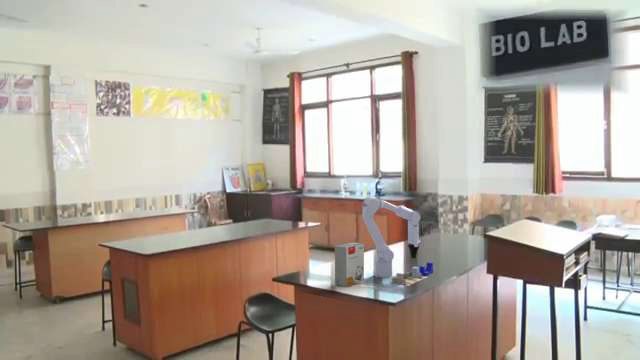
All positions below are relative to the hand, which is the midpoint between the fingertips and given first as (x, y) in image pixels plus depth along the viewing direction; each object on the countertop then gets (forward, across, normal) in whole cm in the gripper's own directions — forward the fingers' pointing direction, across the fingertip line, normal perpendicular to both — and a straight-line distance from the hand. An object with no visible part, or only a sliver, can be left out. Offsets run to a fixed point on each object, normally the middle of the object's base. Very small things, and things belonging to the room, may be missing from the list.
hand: (413, 257), depth 271 cm
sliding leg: (+8, -9, 0) cm, 12 cm away
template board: (+9, -14, +5) cm, 18 cm away
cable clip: (+10, -1, -7) cm, 12 cm away
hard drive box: (+10, -14, +36) cm, 40 cm away
